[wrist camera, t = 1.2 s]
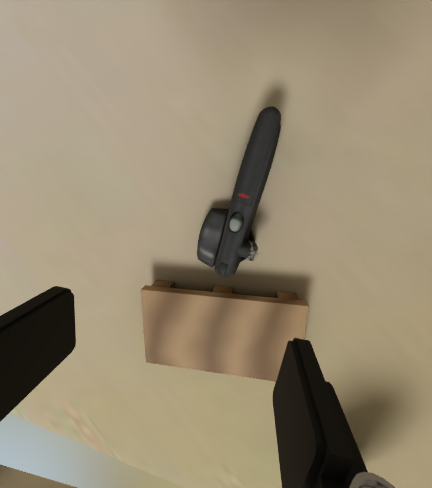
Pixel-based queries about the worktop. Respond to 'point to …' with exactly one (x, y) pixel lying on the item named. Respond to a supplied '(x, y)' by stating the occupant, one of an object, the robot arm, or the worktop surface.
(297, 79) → the worktop surface
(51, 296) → the robot arm
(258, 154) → the can opener
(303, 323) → the stand
